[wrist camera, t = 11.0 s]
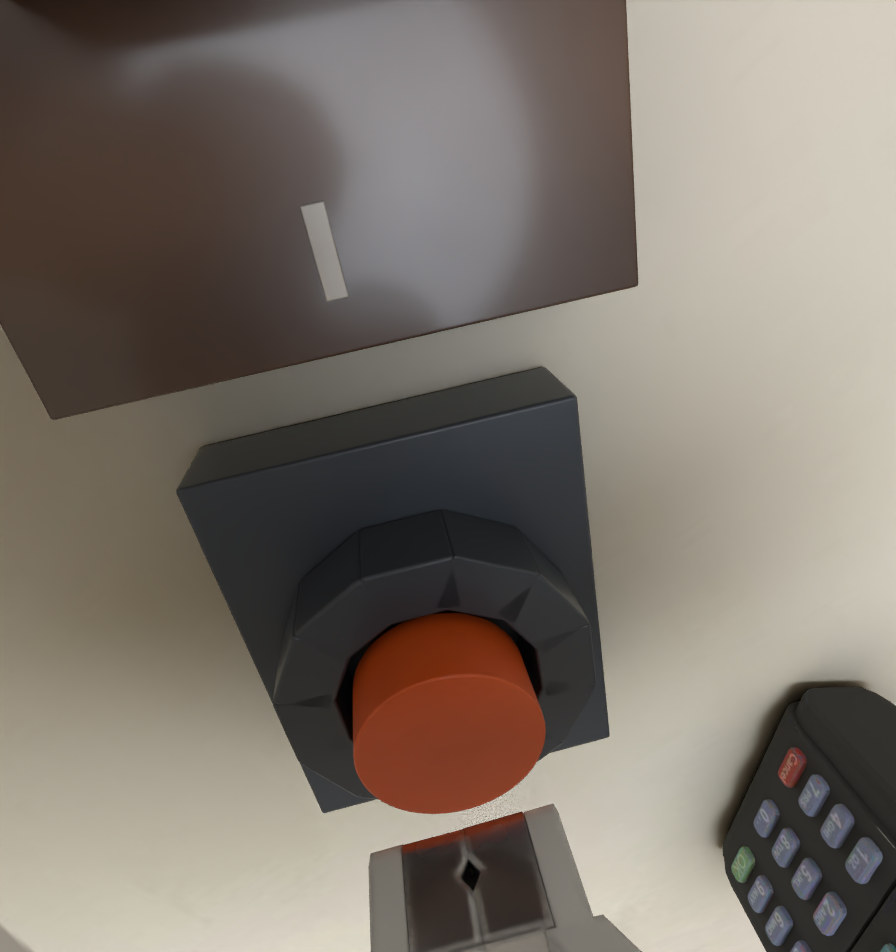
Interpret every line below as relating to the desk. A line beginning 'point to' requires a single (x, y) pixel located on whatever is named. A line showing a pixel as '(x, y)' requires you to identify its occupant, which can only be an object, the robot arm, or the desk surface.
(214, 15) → the panel
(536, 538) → the button block
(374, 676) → the button
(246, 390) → the desk surface
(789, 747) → the card reader
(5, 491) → the desk surface
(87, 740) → the desk surface
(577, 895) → the robot arm
